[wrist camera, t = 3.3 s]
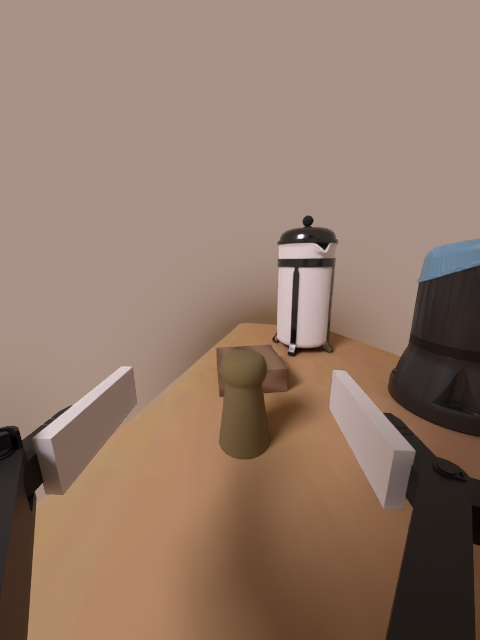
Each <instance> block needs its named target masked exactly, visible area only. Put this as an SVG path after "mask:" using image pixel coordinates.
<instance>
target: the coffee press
mask: <svg viewBox="0 0 480 640" xmlns="http://www.w3.org/2000/svg"><path fill="white" fill-rule="evenodd" d="M312 223H313V218H312V217H311V216H306V217H304V219H303V224H304V225H305V227H303V228H296V229H291V230H288V231H286V232H284V233H283V234H282V236H281V237H280V241H278V247H279V259H278V267H279V277H278V312H277V333H276V335H277V337H278V339H279V340H278V341H281V342H282V343H283V344H286V345H288V346H289V350H288V355H290V356H295V354H296V351H297V349H298V348H315V347H319V346H321V347H323V348H324V349H325V350H326V351H327V352H332V350H333V345H332V344H331V342H330V340H329V331H330V317H331V306H332V295H333V282H334V269H335V260H336V258H335V247H336V245H337V244H338V240H337V239H336V236H335V234H334V232H333V231H331V230H330V229H327V228H322V227H311V226H310V225H312ZM276 335H275V336H274V337H273V339H272V340H273V342H275V343H276V342H278V341H277V340H275V337H276ZM326 341H328V344H329V345H330V347H331V348H332V350H328V349H327V348H326V346H324V345H323V344H325V343H326Z"/></svg>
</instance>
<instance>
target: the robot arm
mask: <svg viewBox="0 0 480 640" xmlns="http://www.w3.org/2000/svg"><path fill="white" fill-rule="evenodd" d="M418 283H419V286H418V292H417V298H416V304H415V310H414V316H413V322H412V328H411V334H410V339H409V344H408V347H407V348H406V350H405V351H404V353H403V354H402V356H401V358H400V360H399V362H398V364H397V366H396V368H394V369H393V370H392V372H391V374H390V378H389V384H388V390H389V393H390V395H391V396H392V397H393V398H394V399H395V400H396V401H397V402H398V403H399V404H400V405H402V406H403V407H404V408H406V409H407V410H409V411H411V412H412V413H414V414H416V415H418V416H420V417H422V418H424V419H426V420H428V421H431V422H433V423H435V424H438V425H441V426H443V427H446V428H449V429H452V430H456V431H459V432H463V433H467V434H472V435H477V436H480V239H475V240H469V241H463V242H457V243H452V244H447V245H442V246H439V247H436V248H434V249H433V250H431V251H430V252H429V253H428V254H427V255H426V257H425V260H424V263H423V267H422V271H421V275H420V279H418ZM136 404H137V398H136V389H135V381H134V372H133V367H126V366H122V367H120V368H119V369H118V370H117V371H115V372H114V373H113V374H112V375H110V376H109V377H108V378H107V379H105V380H104V381H103V382H102V383H100V384H99V385H98V386H97V387H95V388H94V389H93V390H92V391H90V392H89V393H88V394H87V395H85V396H84V397H83V398H82V399H80V400H79V401H78V402H77V403H75V404H74V405H71V406H69V407H67V408H65V409H63V410H61V411H59V412H58V413H57V414H56V415H54V416H53V417H52V418H51V419H49V420H48V421H46V422H45V423H44V425H41V426H40V427H39V428H37V429H36V430H35V431H34V432H32V433H31V434H30V435H28V436H27V437H26V438H25V439H23V440H21V436H20V432H19V429H18V427H16V426H7V427H2V428H0V640H27V634H28V619H29V604H30V589H31V574H32V559H33V544H34V528H35V513H36V494H35V490H36V489H37V488H38V487H39V486H40V485H41V484H42V483H43V485H44V489H45V493H46V494H54V495H64V493H65V492H66V491H67V490H68V488H69V487H70V486H71V485H72V483H73V482H74V481H75V480H76V478H77V477H78V476H79V475H80V474H81V472H82V471H83V470H84V469H85V467H86V466H87V465H88V464H89V462H90V461H91V460H92V459H93V457H94V456H95V455H96V454H97V452H98V451H99V450H100V449H101V448H102V446H103V445H104V444H105V443H106V441H107V440H108V439H109V438H110V436H111V435H112V434H113V433H114V431H115V430H116V429H117V428H118V426H119V425H120V424H121V422H122V421H123V420H124V419H125V418H126V417H127V415H128V414H129V413H130V411H131V410H132V409H133V408H134V407H135V405H136ZM329 409H330V410H331V412H332V414H333V416H334V418H335V420H336V422H337V423H338V425H339V427H340V429H341V431H342V433H343V435H344V436H345V438H346V440H347V442H348V444H349V446H350V447H351V449H352V451H353V453H354V455H355V457H356V459H357V460H358V462H359V464H360V466H361V468H362V470H363V472H364V473H365V475H366V477H367V479H368V481H369V483H370V485H371V486H372V488H373V490H374V492H375V494H376V496H377V497H378V499H379V501H380V503H381V505H382V507H383V509H400V510H404V505H405V500H406V498H407V499H408V501H409V502H410V504H411V505H412V507H413V511H412V515H411V520H410V524H409V529H408V534H407V539H406V544H405V549H404V553H403V558H402V563H401V568H400V572H399V577H398V582H397V587H396V592H395V596H394V601H393V606H392V611H391V615H390V620H389V625H388V630H387V634H386V639H385V640H476V638H475V603H474V568H473V543H474V544H476V545H479V546H480V480H477V479H474V478H470V477H469V476H468V475H467V474H466V473H465V471H464V470H462V469H461V468H460V467H458V466H457V465H455V464H454V463H452V462H450V461H448V460H445V459H442V458H439V457H436V456H435V455H434V454H433V453H432V452H431V451H430V450H429V449H428V448H427V447H426V446H425V445H424V444H423V442H422V441H421V440H420V439H419V438H418V437H417V436H415V435H414V433H413V432H412V431H411V430H410V429H408V427H407V426H406V425H405V424H404V423H403V422H402V421H401V420H400V419H399V418H397V417H396V416H394V415H392V414H391V413H382V412H381V411H380V410H379V408H378V407H377V406H376V405H375V404H374V403H373V402H372V400H371V399H370V398H369V397H368V396H367V395H366V394H365V392H364V391H363V390H362V389H361V388H360V387H359V386H358V384H357V383H356V382H355V381H354V380H353V379H352V378H351V377H350V375H349V374H348V373H347V372H346V371H339V370H333V377H332V387H331V397H330V407H329Z"/></svg>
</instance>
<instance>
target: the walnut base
mask: <svg viewBox="0 0 480 640" xmlns="http://www.w3.org/2000/svg"><path fill="white" fill-rule="evenodd" d="M216 349H217V370H218V382H219V394H220V397H222V396H224V393H225V384H226V383H225V382H224V381H223V379H222V377H221V374H220V365H221V361H222V359H223V357H224V356H225V355H226V354H228V353H230V352H232V351H235V350H252V351H255V352H258V353H260V354H261V355H262V356H263V357H264V359H265V361H266V364H267V374H266V377H265V380H264V381H263V383H262V387H263V393H269V392H281V391H287V381H288V368H287V367H286V365H285V364H284V362H283V361H282V360H281V358H280V357H279V356H278V354H277V353H276V352H275V350H274V349H273V348H272V346H271V345H259V346H242V347H225V348H216Z"/></svg>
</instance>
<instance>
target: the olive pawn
mask: <svg viewBox="0 0 480 640" xmlns="http://www.w3.org/2000/svg"><path fill="white" fill-rule="evenodd" d="M220 374H221V377H222V379H223V381H224V382H225V383H226V384H225V393H224V402H223V411H222V420H221V429H220V439H219V443H220V446H221V449H222V450H223V451H224V452H225V453H226V454H228V455H230V456H231V457H233V458H238V459H251V458H255V457H258V456H259V455H261V454H262V453H264V452H265V451H266V449H267V448H268V446H269V433H268V425H267V418H266V410H265V403H264V395H263V387H262V383H263V381H264V380H265V377H266V374H267V364H266V361H265V359H264V357H263V356H262V355H261V354H260V353H258V352H255V351H252V350H235V351H232V352H230V353H228V354H226V355H225V356H224V357H223V359H222V361H221V365H220Z"/></svg>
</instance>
